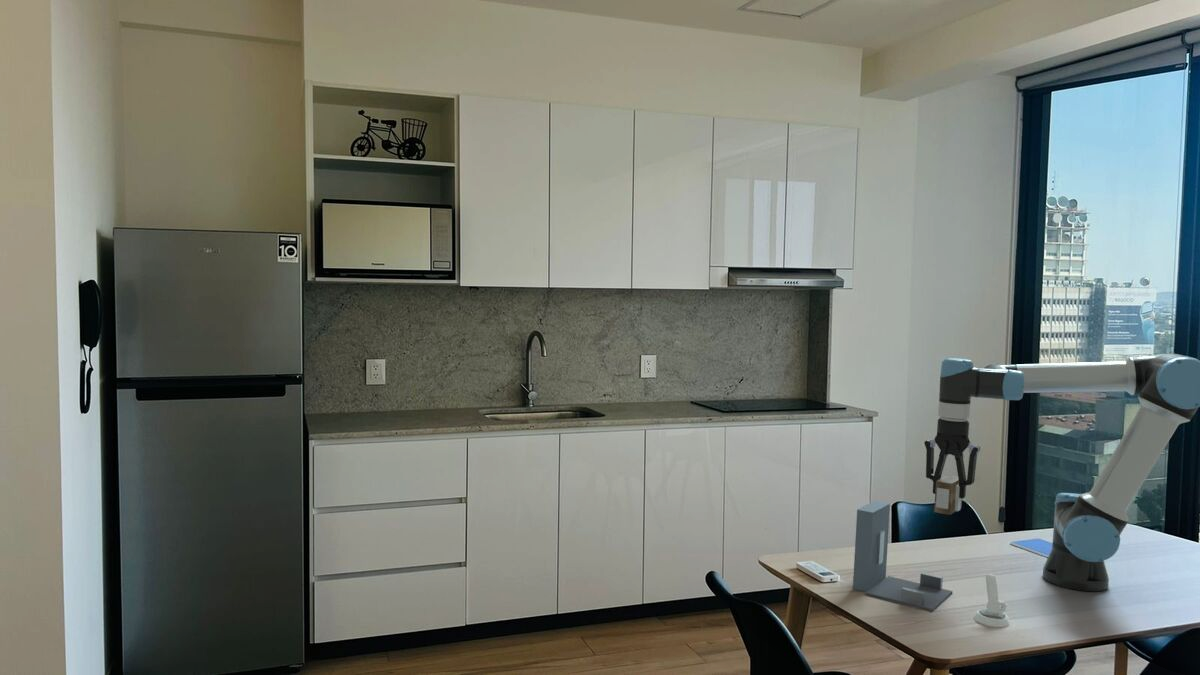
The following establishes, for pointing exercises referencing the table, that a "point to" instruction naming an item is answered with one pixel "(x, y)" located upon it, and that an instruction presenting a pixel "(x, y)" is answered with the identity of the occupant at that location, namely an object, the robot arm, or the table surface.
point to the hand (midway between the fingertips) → (948, 508)
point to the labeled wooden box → (946, 494)
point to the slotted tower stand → (874, 561)
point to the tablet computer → (1035, 546)
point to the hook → (992, 606)
